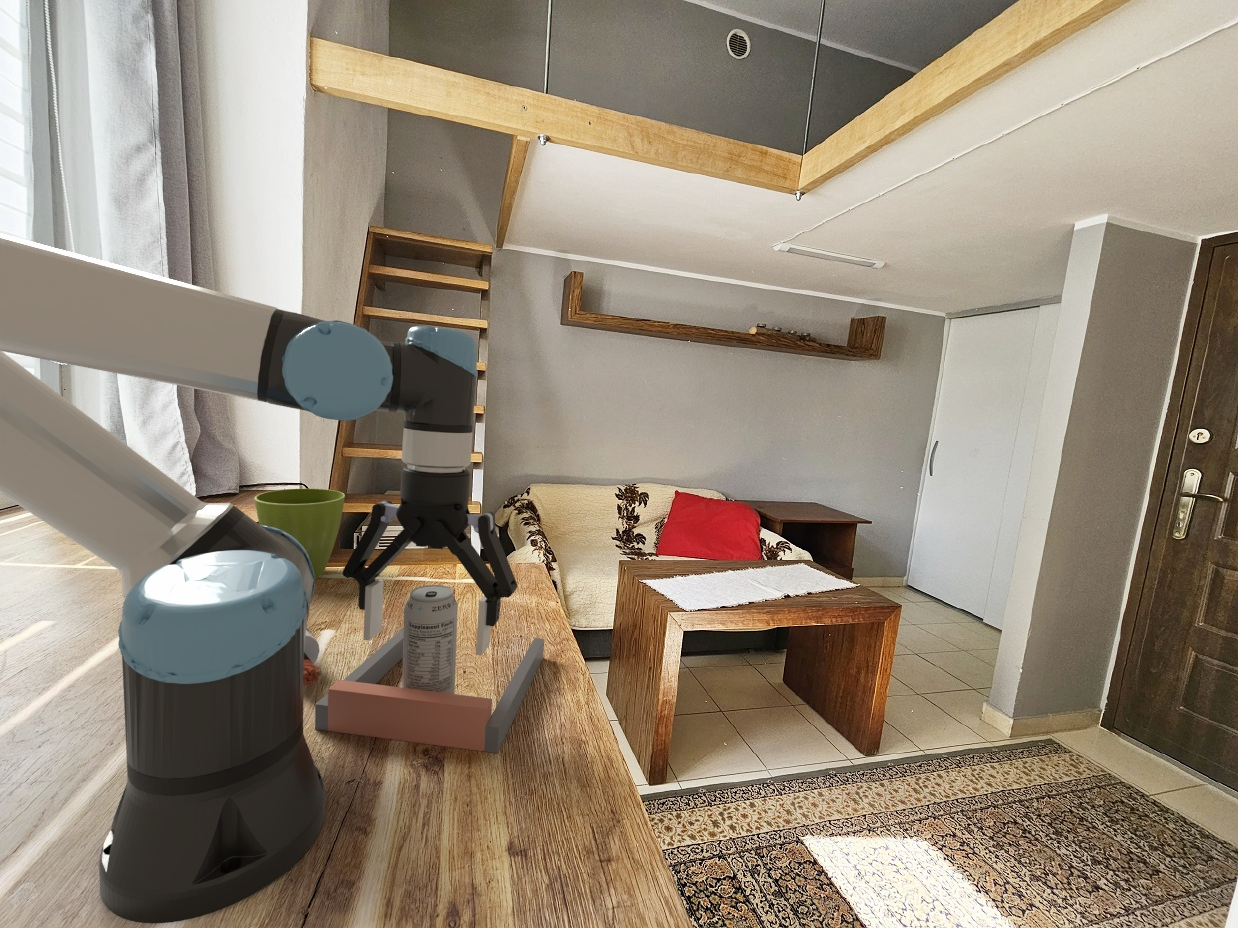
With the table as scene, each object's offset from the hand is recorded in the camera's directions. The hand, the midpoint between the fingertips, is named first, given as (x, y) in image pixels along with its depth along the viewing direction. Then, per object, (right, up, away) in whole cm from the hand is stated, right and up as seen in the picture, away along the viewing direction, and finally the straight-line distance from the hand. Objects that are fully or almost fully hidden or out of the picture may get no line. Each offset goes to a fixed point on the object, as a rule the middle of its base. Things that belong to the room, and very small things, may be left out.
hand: (427, 642), depth 65 cm
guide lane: (0, -8, +6) cm, 10 cm away
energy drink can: (0, -9, +1) cm, 9 cm away
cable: (-28, -5, +14) cm, 32 cm away
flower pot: (-39, -1, +41) cm, 57 cm away
